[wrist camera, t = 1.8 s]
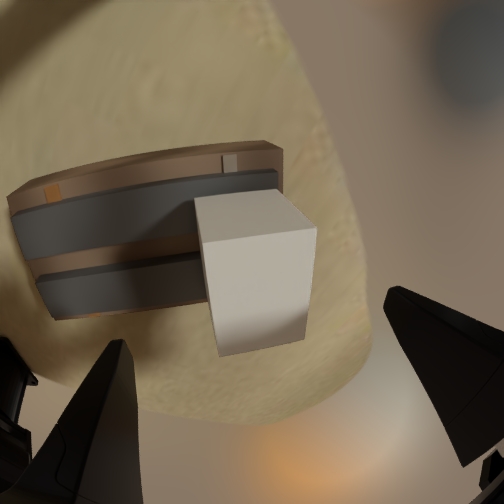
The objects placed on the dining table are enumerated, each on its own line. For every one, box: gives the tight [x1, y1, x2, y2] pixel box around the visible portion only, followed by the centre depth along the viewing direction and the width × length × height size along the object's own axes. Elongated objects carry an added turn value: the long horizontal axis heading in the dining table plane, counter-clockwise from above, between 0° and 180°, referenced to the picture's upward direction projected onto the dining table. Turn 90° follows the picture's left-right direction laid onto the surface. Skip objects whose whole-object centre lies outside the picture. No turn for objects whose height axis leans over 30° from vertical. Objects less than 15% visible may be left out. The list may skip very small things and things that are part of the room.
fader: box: [194, 189, 317, 357], centre depth 12 cm, size 4×5×5 cm
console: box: [7, 140, 283, 321], centre depth 14 cm, size 14×8×4 cm, turn 92°
